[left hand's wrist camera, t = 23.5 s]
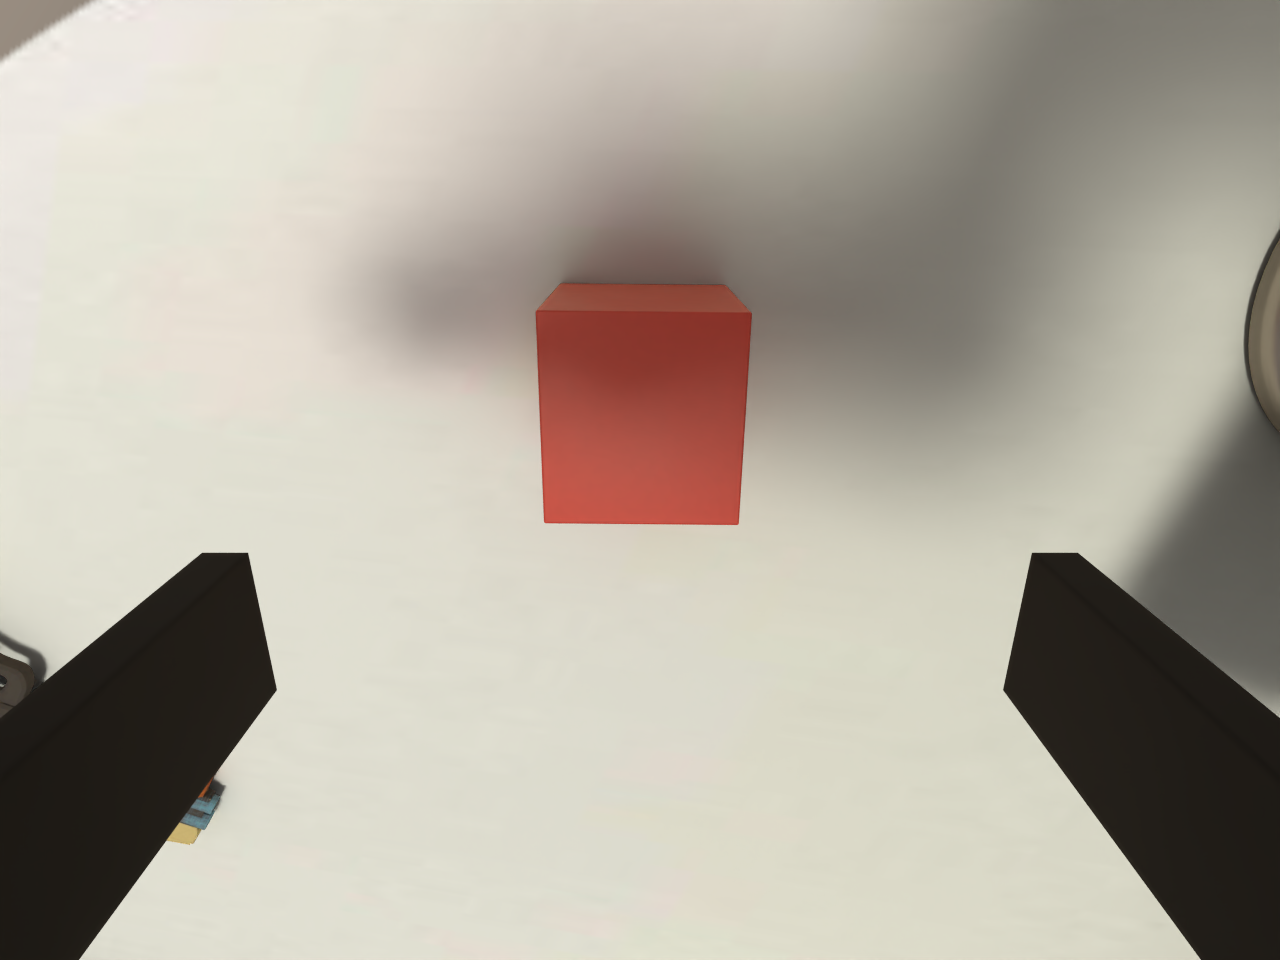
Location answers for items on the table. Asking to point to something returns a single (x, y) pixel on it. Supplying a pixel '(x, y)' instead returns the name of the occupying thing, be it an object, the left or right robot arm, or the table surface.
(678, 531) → the table surface
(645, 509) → the block
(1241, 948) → the left robot arm
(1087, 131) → the table surface
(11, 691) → the toy gun
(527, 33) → the table surface
